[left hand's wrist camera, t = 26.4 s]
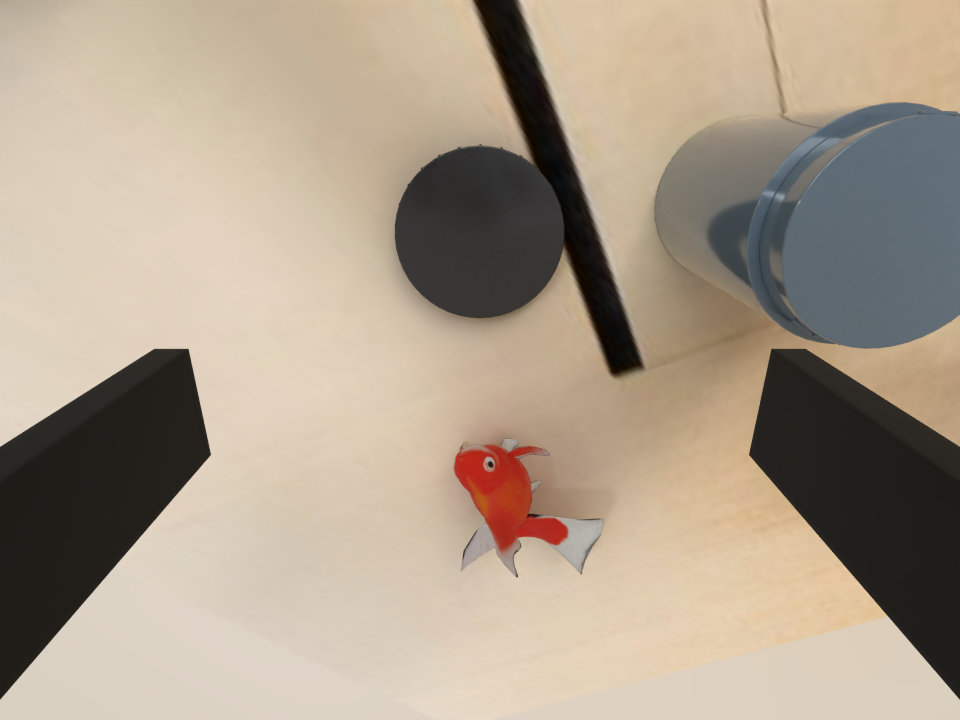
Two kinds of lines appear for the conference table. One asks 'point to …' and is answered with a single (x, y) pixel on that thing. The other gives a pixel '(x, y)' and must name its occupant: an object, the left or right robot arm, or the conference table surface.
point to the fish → (515, 507)
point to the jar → (824, 219)
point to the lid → (479, 231)
